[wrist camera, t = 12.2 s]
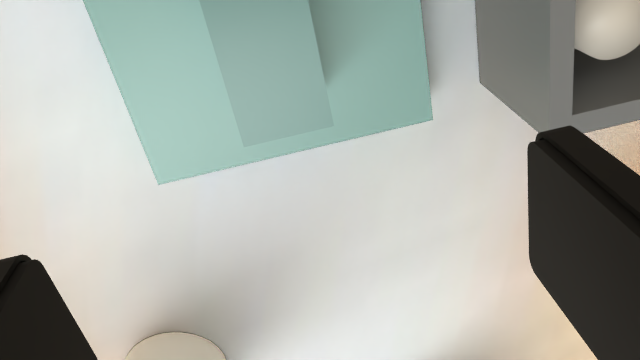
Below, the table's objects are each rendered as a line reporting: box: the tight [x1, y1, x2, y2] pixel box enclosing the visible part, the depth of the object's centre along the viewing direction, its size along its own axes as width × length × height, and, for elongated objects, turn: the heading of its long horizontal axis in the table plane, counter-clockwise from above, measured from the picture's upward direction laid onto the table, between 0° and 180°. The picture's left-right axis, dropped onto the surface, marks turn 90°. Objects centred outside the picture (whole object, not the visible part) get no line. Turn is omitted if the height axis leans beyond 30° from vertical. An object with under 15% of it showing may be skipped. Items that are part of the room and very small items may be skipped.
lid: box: [83, 0, 433, 185], centre depth 25 cm, size 15×13×7 cm
